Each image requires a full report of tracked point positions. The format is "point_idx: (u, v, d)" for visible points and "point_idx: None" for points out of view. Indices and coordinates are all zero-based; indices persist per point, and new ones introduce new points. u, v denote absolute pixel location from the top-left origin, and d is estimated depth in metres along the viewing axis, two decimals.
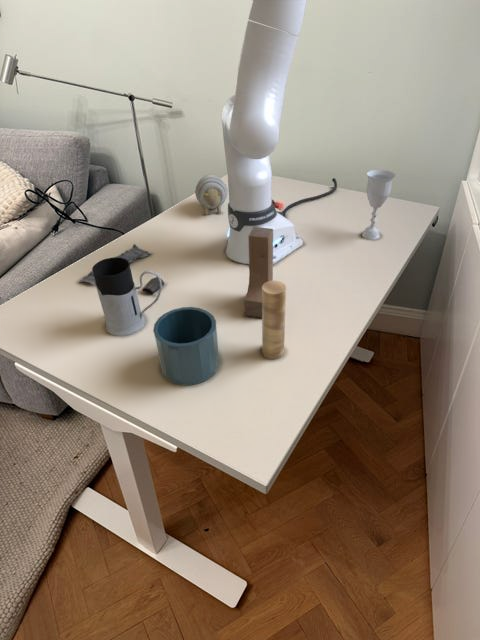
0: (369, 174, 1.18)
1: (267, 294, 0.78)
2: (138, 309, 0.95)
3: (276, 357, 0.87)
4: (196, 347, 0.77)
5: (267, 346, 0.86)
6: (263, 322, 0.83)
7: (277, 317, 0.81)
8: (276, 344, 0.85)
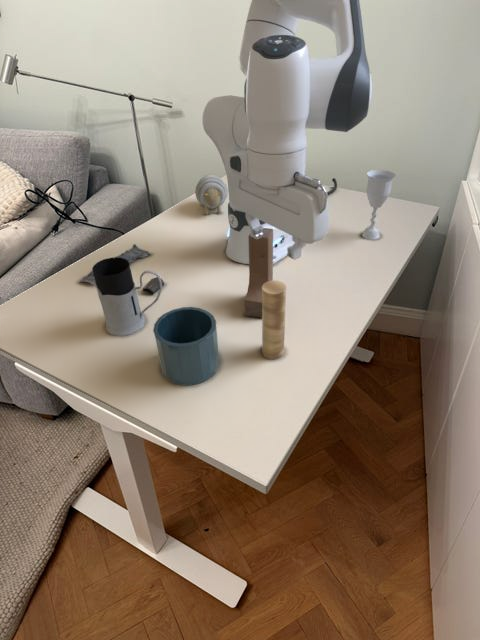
0: (369, 174, 1.18)
1: (267, 294, 0.78)
2: (138, 309, 0.95)
3: (276, 357, 0.87)
4: (196, 347, 0.77)
5: (267, 346, 0.86)
6: (263, 322, 0.83)
7: (277, 317, 0.81)
8: (276, 344, 0.85)
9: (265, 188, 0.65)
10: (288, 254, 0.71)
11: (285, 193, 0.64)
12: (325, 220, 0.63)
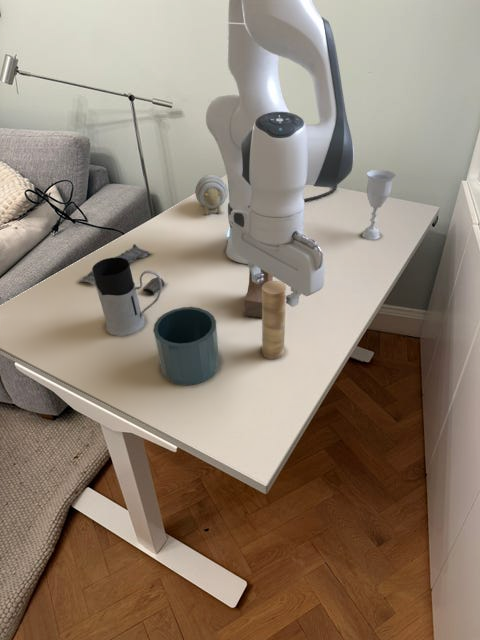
0: (369, 174, 1.18)
1: (267, 294, 0.78)
2: (138, 309, 0.95)
3: (276, 357, 0.87)
4: (196, 347, 0.77)
5: (267, 346, 0.86)
6: (263, 322, 0.83)
7: (277, 317, 0.81)
8: (276, 344, 0.85)
9: (266, 244, 0.71)
10: (287, 302, 0.76)
11: (284, 250, 0.70)
12: (321, 275, 0.69)
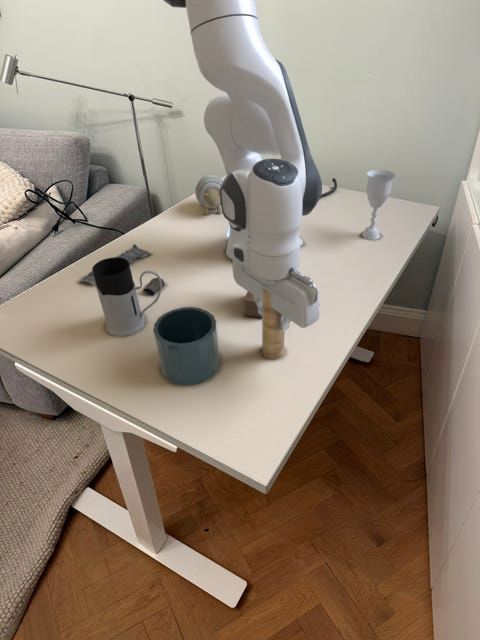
0: (369, 174, 1.18)
1: (267, 294, 0.78)
2: (138, 309, 0.95)
3: (276, 357, 0.87)
4: (196, 347, 0.77)
5: (267, 347, 0.86)
6: (263, 322, 0.83)
7: (277, 317, 0.81)
8: (276, 344, 0.85)
9: (264, 279, 0.75)
10: (278, 326, 0.82)
11: (282, 285, 0.74)
12: (316, 309, 0.73)
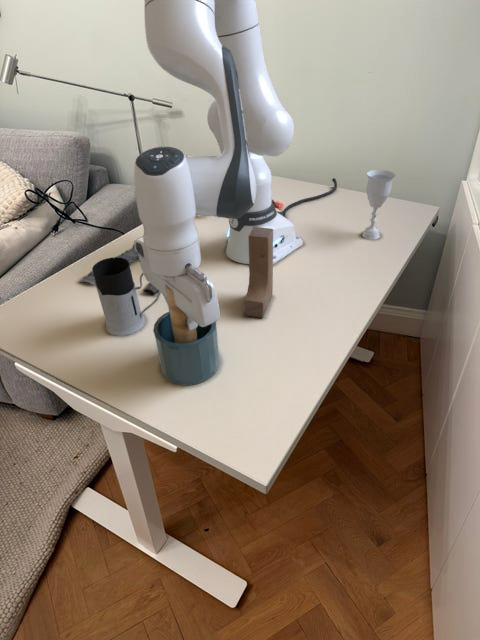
0: (369, 174, 1.18)
1: (169, 291, 0.74)
2: (138, 309, 0.95)
3: None
4: (196, 347, 0.77)
5: None
6: (171, 321, 0.79)
7: (183, 316, 0.77)
8: None
9: (163, 275, 0.71)
10: (186, 325, 0.78)
11: (179, 281, 0.70)
12: (215, 307, 0.69)
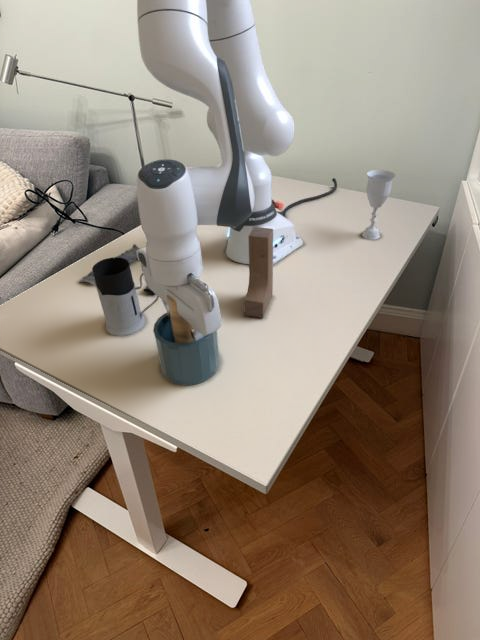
0: (369, 174, 1.18)
1: (171, 302, 0.76)
2: (138, 309, 0.95)
3: None
4: (196, 347, 0.77)
5: None
6: (173, 331, 0.81)
7: (184, 326, 0.78)
8: None
9: (165, 285, 0.72)
10: (192, 336, 0.78)
11: (181, 291, 0.71)
12: (217, 316, 0.71)
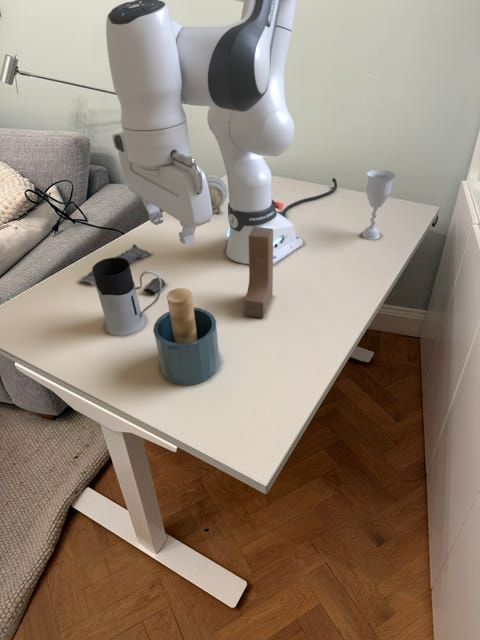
0: (369, 174, 1.18)
1: (171, 302, 0.76)
2: (138, 309, 0.95)
3: None
4: (196, 347, 0.77)
5: None
6: (173, 331, 0.81)
7: (184, 326, 0.78)
8: None
9: (145, 168, 0.61)
10: (180, 240, 0.66)
11: (164, 173, 0.60)
12: (206, 202, 0.59)
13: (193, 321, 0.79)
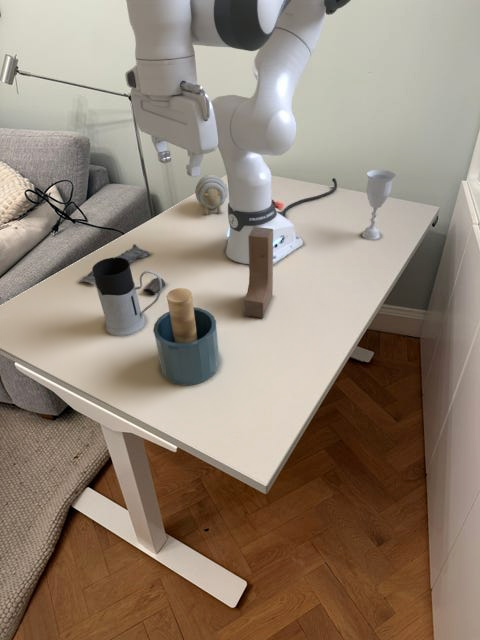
0: (369, 174, 1.18)
1: (171, 302, 0.76)
2: (138, 309, 0.95)
3: None
4: (196, 347, 0.77)
5: None
6: (173, 331, 0.81)
7: (184, 326, 0.78)
8: None
9: (156, 100, 0.66)
10: (187, 172, 0.71)
11: (174, 103, 0.65)
12: (212, 129, 0.64)
13: (193, 321, 0.79)
